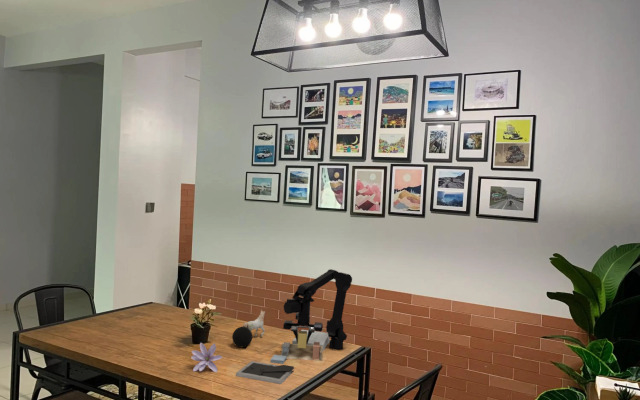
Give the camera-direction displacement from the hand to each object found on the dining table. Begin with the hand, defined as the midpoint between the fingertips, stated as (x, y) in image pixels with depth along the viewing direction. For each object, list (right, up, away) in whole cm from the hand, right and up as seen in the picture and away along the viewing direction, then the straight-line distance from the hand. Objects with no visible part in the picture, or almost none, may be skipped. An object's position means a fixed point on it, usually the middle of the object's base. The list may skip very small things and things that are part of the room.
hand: (302, 343), depth 234 cm
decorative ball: (-31, -5, +12) cm, 34 cm away
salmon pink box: (+7, -6, 0) cm, 9 cm away
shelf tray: (0, -7, 0) cm, 7 cm away
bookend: (-8, -5, 0) cm, 10 cm away
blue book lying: (-11, -7, -9) cm, 15 cm away
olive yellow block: (0, -1, 0) cm, 1 cm away
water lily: (-42, -6, -21) cm, 47 cm away
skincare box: (-4, -4, +20) cm, 21 cm away
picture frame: (-15, -8, -22) cm, 28 cm away
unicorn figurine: (-28, -5, +29) cm, 41 cm away
